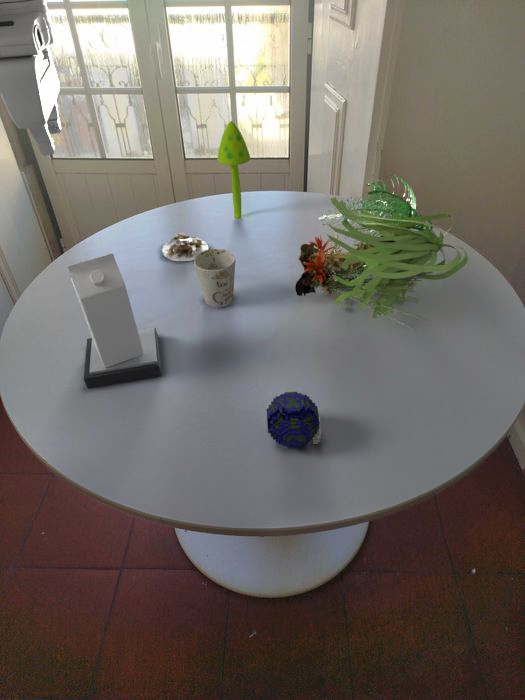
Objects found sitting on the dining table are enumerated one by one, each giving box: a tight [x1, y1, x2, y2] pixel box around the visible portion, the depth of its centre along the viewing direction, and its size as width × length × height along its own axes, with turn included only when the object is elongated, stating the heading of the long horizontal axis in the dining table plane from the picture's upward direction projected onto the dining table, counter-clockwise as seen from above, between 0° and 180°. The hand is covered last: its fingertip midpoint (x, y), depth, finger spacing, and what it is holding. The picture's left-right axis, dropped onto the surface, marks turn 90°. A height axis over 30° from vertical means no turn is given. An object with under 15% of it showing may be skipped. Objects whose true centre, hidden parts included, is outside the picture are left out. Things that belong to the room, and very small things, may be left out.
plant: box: [294, 173, 469, 332], centre depth 91 cm, size 30×30×35 cm
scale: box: [83, 327, 162, 389], centre depth 86 cm, size 13×11×3 cm
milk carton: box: [66, 252, 144, 368], centre depth 79 cm, size 7×7×19 cm
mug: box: [193, 248, 236, 309], centre depth 99 cm, size 8×13×10 cm, turn 16°
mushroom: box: [216, 120, 251, 220], centre depth 121 cm, size 8×8×25 cm
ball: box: [266, 391, 322, 449], centre depth 71 cm, size 8×8×8 cm
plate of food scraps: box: [161, 232, 210, 263], centre depth 116 cm, size 12×12×4 cm
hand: (52, 142), depth 68 cm, fingers open, 8 cm apart
